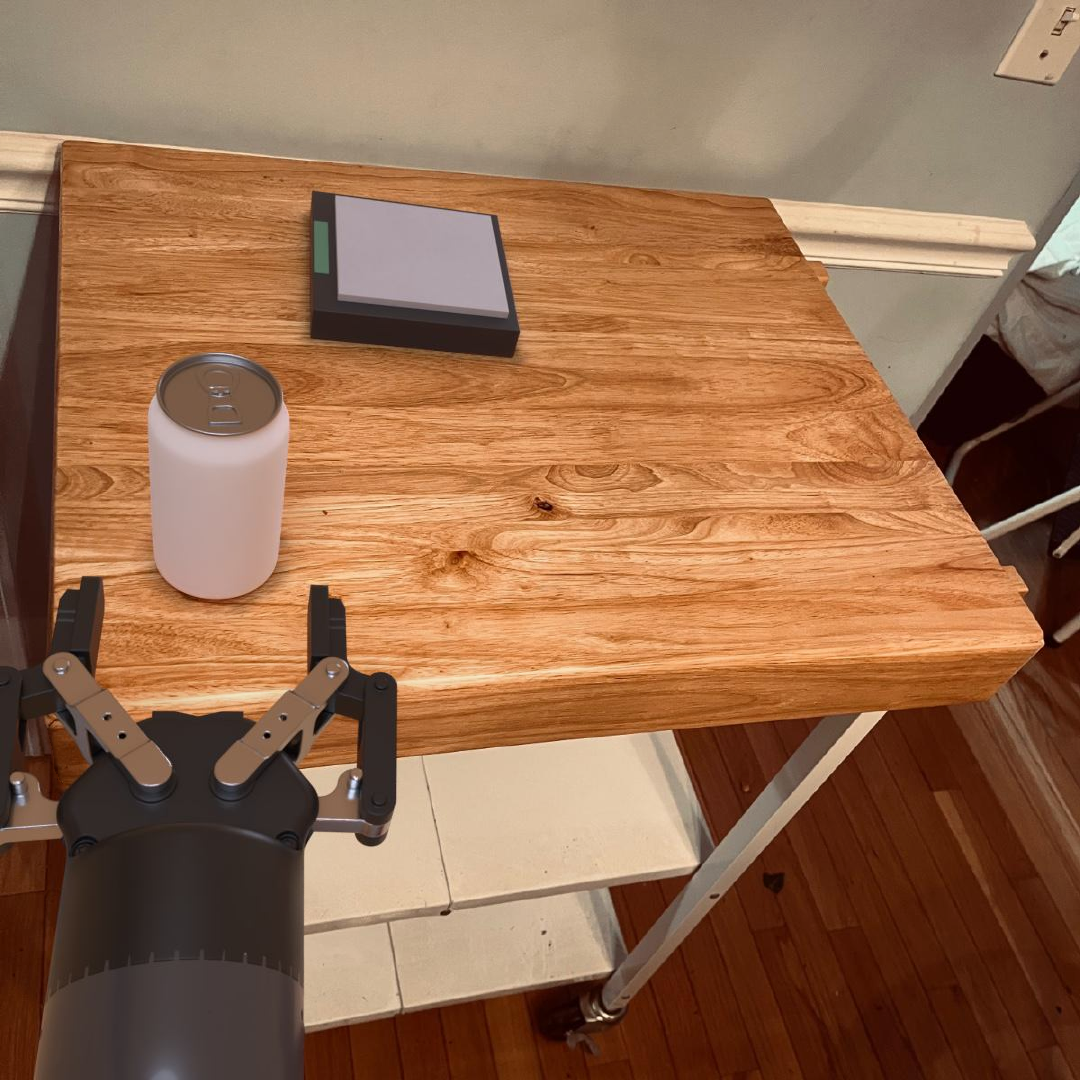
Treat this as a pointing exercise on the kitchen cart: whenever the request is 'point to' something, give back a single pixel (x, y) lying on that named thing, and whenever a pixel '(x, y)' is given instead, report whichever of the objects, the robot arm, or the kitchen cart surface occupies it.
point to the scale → (409, 276)
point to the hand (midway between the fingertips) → (208, 592)
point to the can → (217, 474)
